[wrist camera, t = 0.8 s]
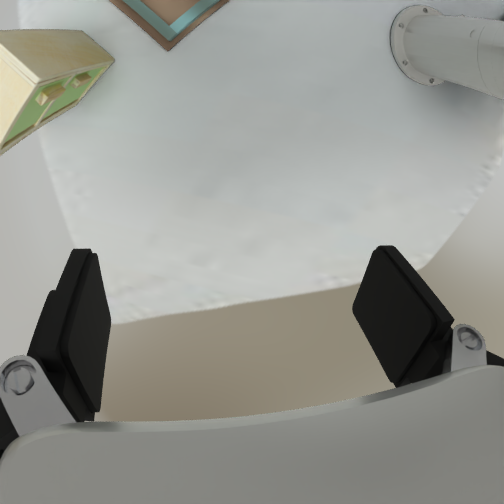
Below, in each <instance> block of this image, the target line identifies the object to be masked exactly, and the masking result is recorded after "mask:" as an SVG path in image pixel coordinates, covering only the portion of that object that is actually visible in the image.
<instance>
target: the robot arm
mask: <svg viewBox="0 0 504 504" xmlns="http://www.w3.org/2000/svg"><path fill="white" fill-rule="evenodd" d="M391 47H392V52H393V55H394V58H395V60H396V62H397V64H398V66H399V67H400V68H401V70H402V71H403V72H404V73H405V74H406V75H407V76H408V77H409V78H410V79H412V80H413V81H415V82H418V83H420V84H424V85H429V86H434V85H439V84H441V83H443V82H445V81H449V82H452V83H456V84H459V85H462V86H465V87H468V88H471V89H474V90H477V91H480V92H483V93H485V94H488V95H491V96H494V97H496V98H499V99H502V100H504V21H500V20H492V19H484V18H474V17H465V16H464V15H460V16H444V15H442V14H441V13H440V12H439V11H437V10H435V9H433V8H431V7H428V6H421V5H418V6H411V7H408V8H406V9H404V10H402V11H401V12H400V13H399V14H398V15H397V17H396V19H395V20H394V23H393V25H392V29H391ZM402 62H403V63H402ZM352 310H353V314H354V316H355V317H356V319H357V321H358V323H359V325H360V327H361V328H362V330H363V332H364V334H365V336H366V338H367V339H368V341H369V343H370V345H371V346H372V349H373V350H374V352H375V354H376V356H377V358H378V360H379V362H380V363H381V365H382V367H383V369H384V371H385V373H386V375H387V377H388V379H389V380H390V382H392V383H394V385H395V387H396V388H394V389H391V390H387V391H383V392H379V393H375V394H371V395H367V396H362V397H358V398H354V399H349V400H344V401H340V402H335V403H330V404H325V405H319V406H314V407H308V408H302V409H296V410H290V411H283V412H275V413H269V414H260V415H252V416H242V417H233V418H222V419H207V420H188V421H160V422H84V421H94V415H95V412H99V411H100V407H101V397H102V387H103V378H104V369H105V362H106V354H107V347H108V340H109V334H110V327H111V316H110V312H109V307H108V303H107V299H106V295H105V290H104V285H103V281H102V276H101V271H100V266H99V260H98V256H97V254H96V253H92V251H91V249H73V250H72V252H71V254H70V257H69V259H68V261H67V264H66V266H65V268H64V271H63V273H62V275H61V278H60V280H59V283H58V285H57V288H56V290H52V291H50V292H49V294H48V296H47V299H46V302H45V304H44V307H43V310H42V312H41V315H40V318H39V320H38V323H37V326H36V329H35V332H34V335H33V337H32V341H31V344H30V347H29V350H28V353H27V356H24V355H20V356H14V357H12V358H10V359H8V360H7V361H5V362H4V363H3V364H2V365H1V367H0V504H504V359H503V358H501V357H499V356H497V355H495V354H493V353H491V352H489V351H487V350H486V344H485V340H484V338H483V336H482V335H481V334H480V333H479V332H478V331H477V330H476V329H475V328H473V327H471V326H470V325H466V324H459V325H456V326H455V327H454V329H452V328H451V327H450V326H451V325H452V323H453V322H454V318H453V317H452V316H451V314H450V313H449V312H448V310H447V309H446V308H445V306H444V305H443V304H442V303H441V301H440V300H439V299H438V298H437V296H436V295H435V294H434V293H433V291H432V290H431V289H430V288H429V286H428V285H427V284H426V283H425V281H424V280H423V279H422V278H421V277H420V276H419V274H418V273H417V272H416V271H415V269H414V268H413V267H412V266H411V265H410V264H409V262H408V261H407V260H406V259H405V258H404V257H403V255H402V254H401V253H400V252H399V251H398V250H397V249H396V247H394V246H378V247H377V248H376V250H374V251H373V253H372V255H371V258H370V261H369V264H368V266H367V269H366V272H365V275H364V277H363V280H362V282H361V285H360V288H359V290H358V293H357V296H356V298H355V300H354V303H353V308H352ZM411 383H412V384H411Z"/></svg>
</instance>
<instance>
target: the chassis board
mask: <svg viewBox="0 0 504 504" xmlns="http://www.w3.org/2000/svg"><path fill="white" fill-rule="evenodd" d="M109 1H111V2H112V3H113V4H114V5H115V6H117V7H118V8H119V9H120V10H121V11H123V12H124V13H125V14H126V15H127V16H128V17H130V18H131V19H132V20H133V21H134V22H135V23H137V24H138V25H139V26H140V27H141V28H142V29H143V30H144V31H146V32H147V33H148V34H149V35H150V36H151V37H152V38H153V39H155V40H156V41H157V42H158V43H159V44H160V45H161V46H162V47H163V48H164V49H166V50H167V51H169V50H170V49H171V48H172V47H174V46H175V45H176V44H177V43H178V42H179V41H180V40H181V39H183V38H184V37H185V36H186V35H187V34H188V33H189V32H191V31H192V30H193V29H194V28H195V27H197V26H198V25H199V24H200V23H201V22H203V21H204V20H205V19H206V18H208V17H209V16H210V15H211V14H213V13H214V12H215V11H216V10H218V9H219V8H220V7H222V6H223V5H224V4H226V3H227V2H228V1H230V0H109Z"/></svg>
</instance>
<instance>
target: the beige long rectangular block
mask: <svg viewBox="0 0 504 504" xmlns="http://www.w3.org/2000/svg"><path fill="white" fill-rule="evenodd" d="M114 61H115V60H114V58H113V57H112V56H111V55H109V54H108V53H107V52H106V51H105V50H104V49H103V48H102V47H101V46H99V45H98V44H97V43H96V42H95V41H94V40H93V39H91V38H90V37H89V36H88V35H87V34H85V33H84V32H83V31H79V30H59V29H18V30H1V31H0V156H1V155H2V154H4V153H5V152H6V151H7V150H9V149H10V148H12V147H13V146H14V145H16V144H17V143H19V142H20V141H21V140H23V139H24V138H25V137H27V136H28V135H30V134H31V133H32V132H34V131H36V130H37V129H39V128H40V127H42V126H43V125H45V124H46V123H48V122H50V121H51V120H53V119H54V118H56V117H58V116H59V115H61V114H63V113H64V112H66V111H68V110H69V109H71V108H73V107H74V106H76V105H77V104H78V103H79V101H80V100H81V99H82V98H83V97H84V95H85V94H86V93H87V92H88V90H89V89H90V88H91V87H92V86H93V85H94V83H95V82H96V81H97V80H98V79H99V78H100V76H101V75H102V74H103V73H104V72H105V71H106V70H107V69H108V68H109V67H110V65H111V64H112V63H113V62H114Z"/></svg>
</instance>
